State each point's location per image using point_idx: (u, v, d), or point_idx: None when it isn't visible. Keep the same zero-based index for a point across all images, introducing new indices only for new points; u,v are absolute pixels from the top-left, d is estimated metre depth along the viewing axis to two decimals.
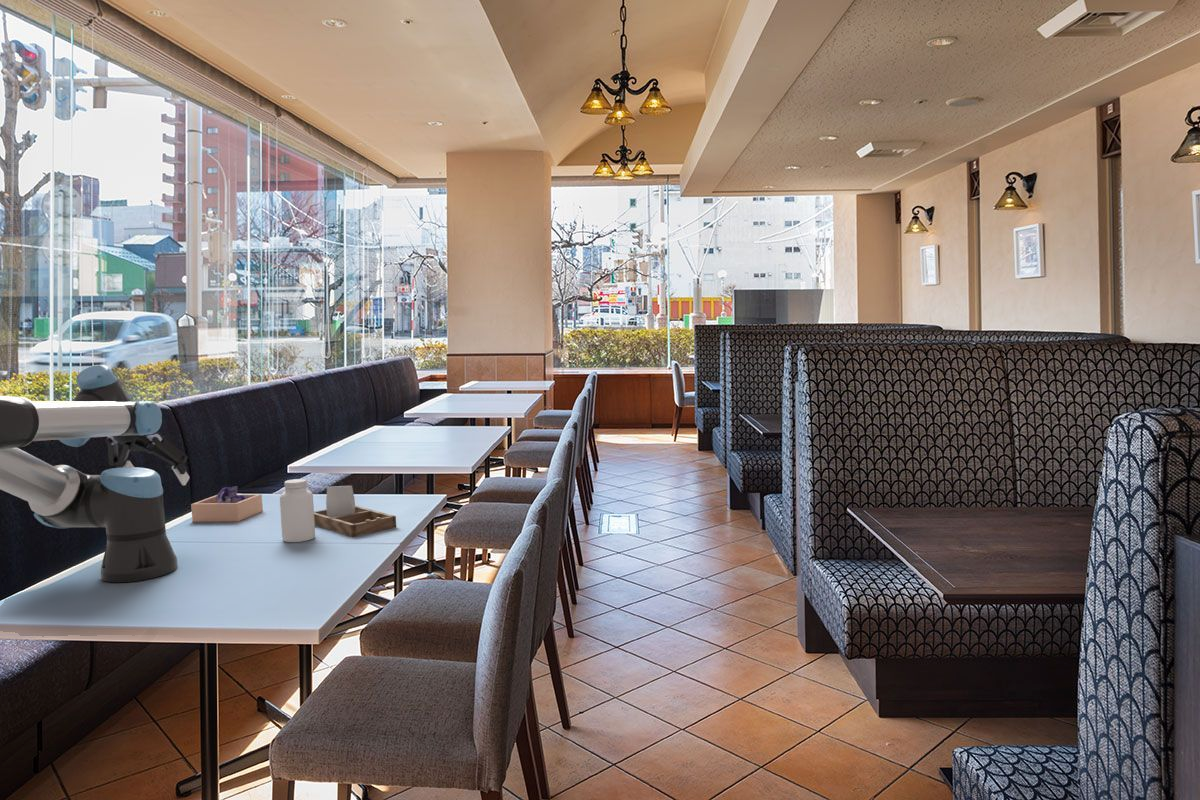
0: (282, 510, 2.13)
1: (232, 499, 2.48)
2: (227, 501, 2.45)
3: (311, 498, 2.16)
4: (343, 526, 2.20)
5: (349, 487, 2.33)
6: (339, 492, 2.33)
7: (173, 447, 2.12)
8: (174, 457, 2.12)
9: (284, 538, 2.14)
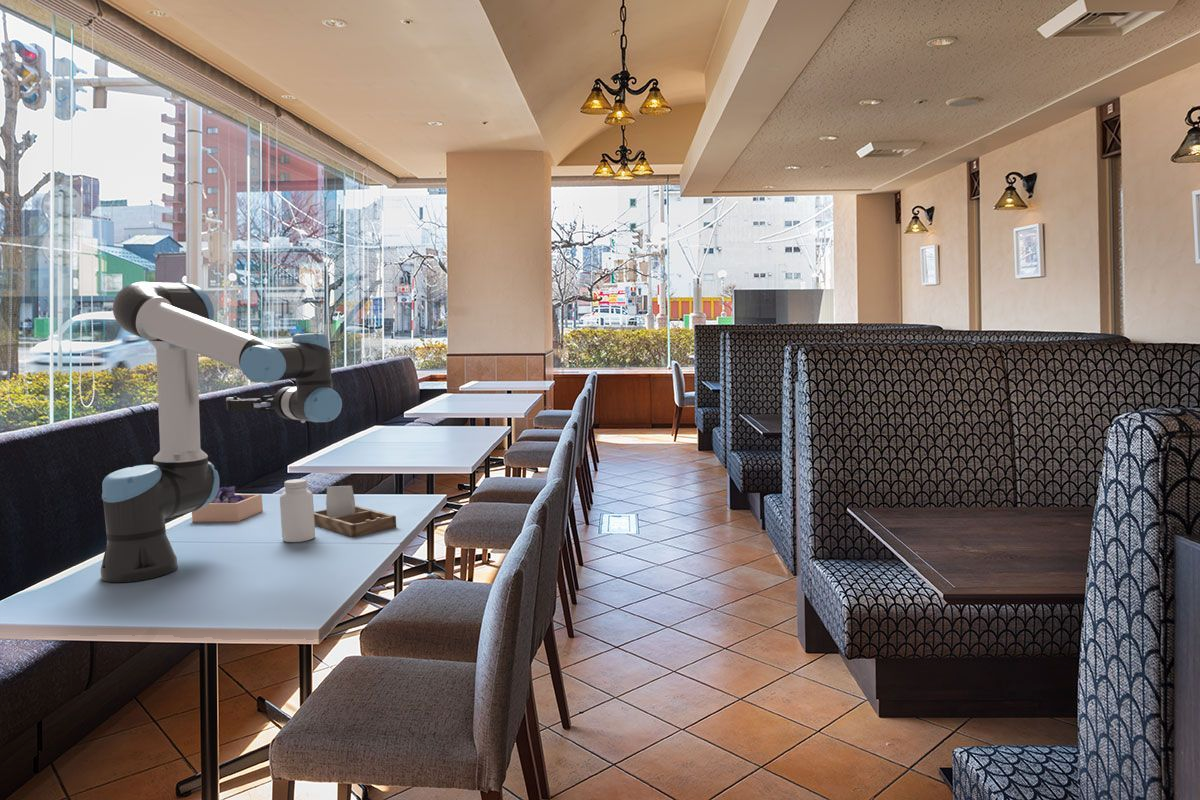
0: (282, 510, 2.13)
1: (230, 499, 2.48)
2: (225, 501, 2.45)
3: (311, 498, 2.16)
4: (343, 526, 2.20)
5: (349, 487, 2.33)
6: (339, 492, 2.33)
7: (241, 408, 1.96)
8: (236, 400, 1.97)
9: (284, 538, 2.14)
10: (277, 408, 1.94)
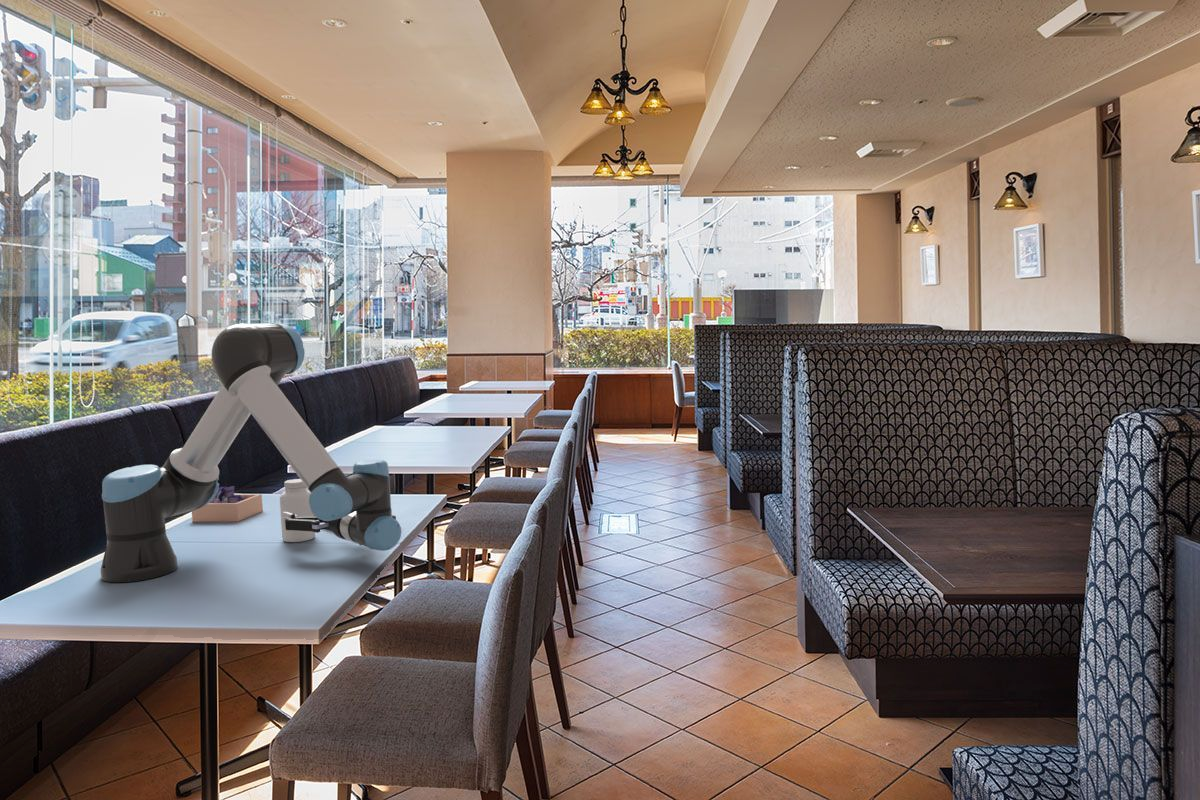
0: (282, 510, 2.13)
1: (229, 499, 2.49)
2: (224, 501, 2.45)
3: None
4: None
5: None
6: None
7: (300, 528, 1.97)
8: (294, 519, 1.98)
9: (284, 538, 2.14)
10: (335, 530, 1.95)
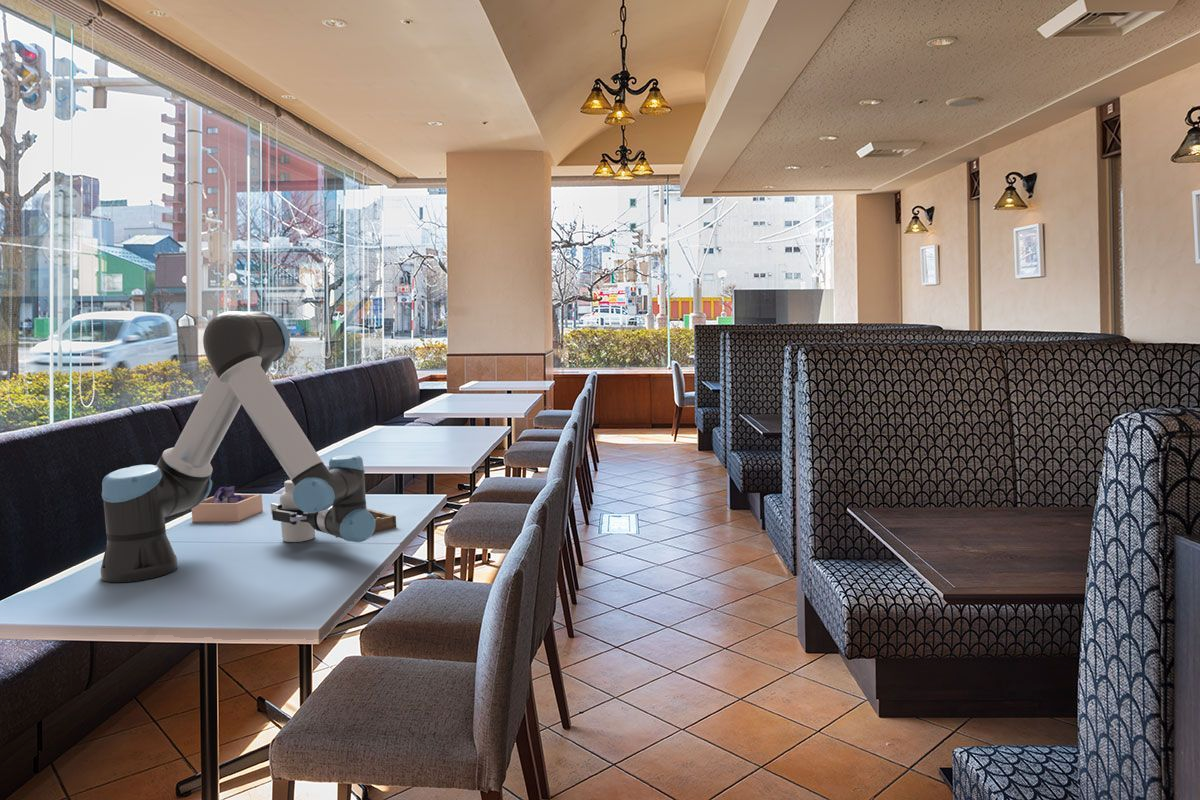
0: None
1: (229, 499, 2.49)
2: (224, 501, 2.45)
3: None
4: None
5: None
6: None
7: (282, 519, 2.07)
8: (278, 510, 2.08)
9: (284, 538, 2.14)
10: (313, 523, 2.02)
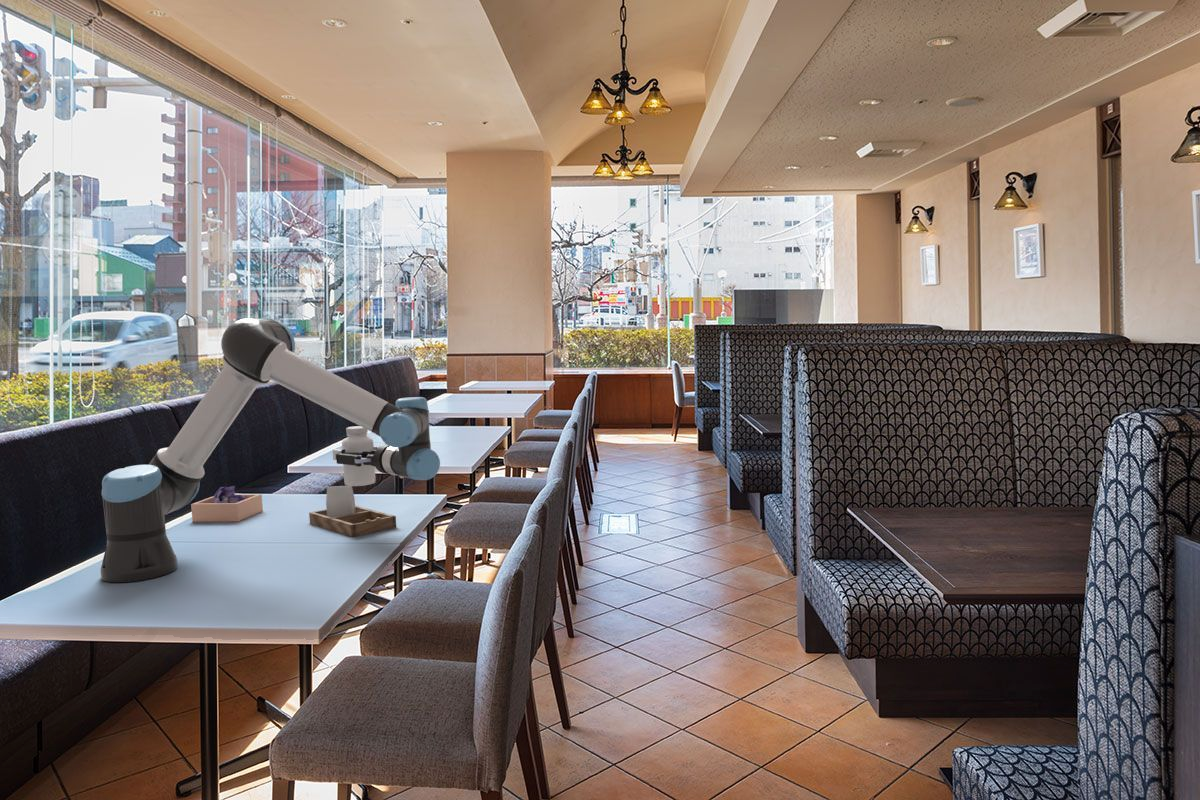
0: None
1: (229, 499, 2.49)
2: (224, 501, 2.45)
3: (372, 444, 2.23)
4: (343, 526, 2.20)
5: (349, 487, 2.33)
6: (339, 492, 2.33)
7: (346, 462, 2.14)
8: (343, 454, 2.15)
9: (346, 482, 2.21)
10: (377, 464, 2.10)
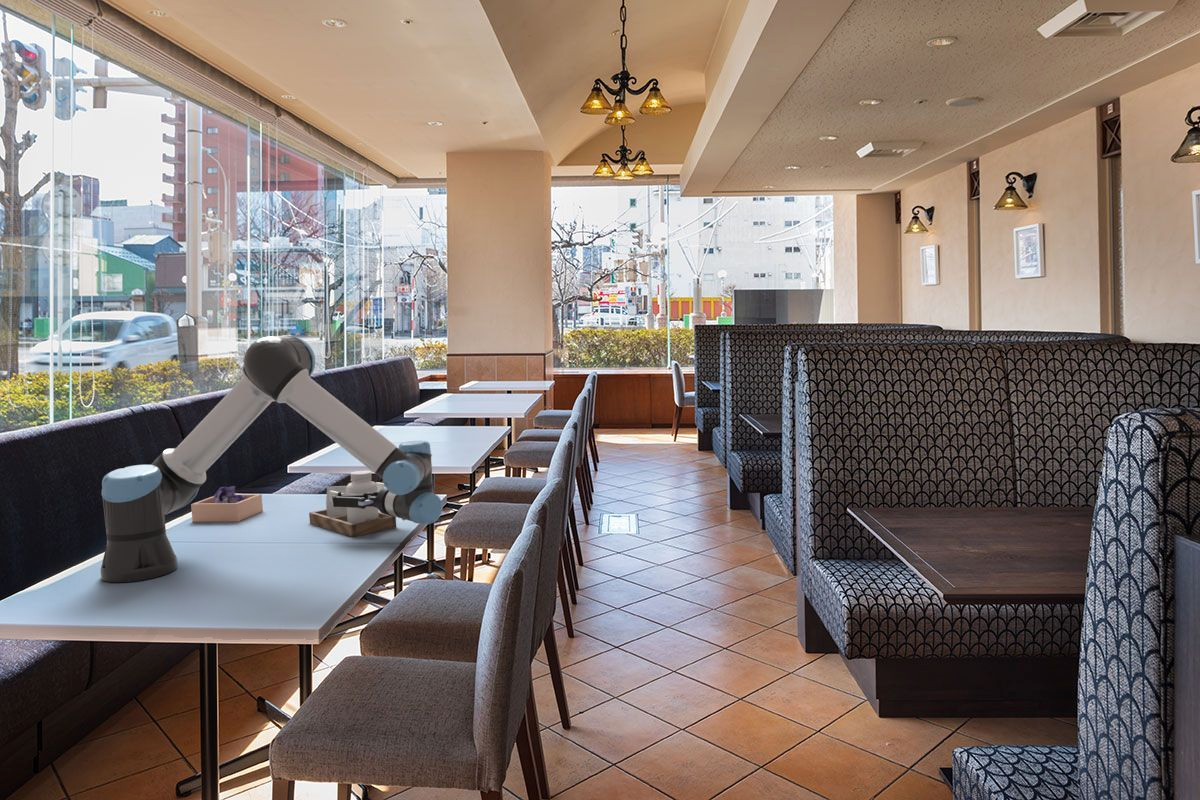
0: None
1: (230, 499, 2.49)
2: (224, 501, 2.45)
3: (376, 489, 2.25)
4: (343, 526, 2.20)
5: None
6: None
7: (346, 505, 2.13)
8: (341, 497, 2.14)
9: None
10: (380, 506, 2.11)
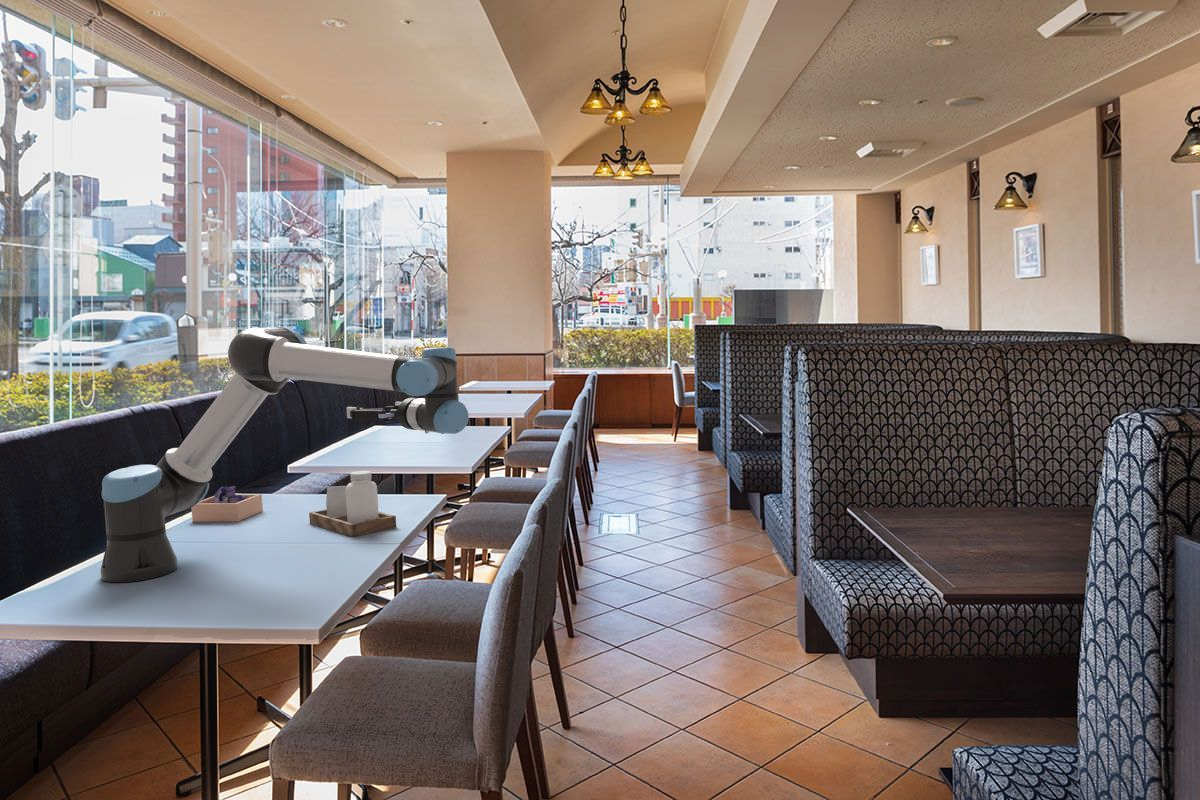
0: (348, 500, 2.22)
1: (230, 499, 2.49)
2: (224, 501, 2.46)
3: (376, 489, 2.25)
4: (343, 526, 2.20)
5: None
6: (339, 492, 2.33)
7: (366, 418, 2.02)
8: (360, 410, 2.03)
9: None
10: (402, 419, 1.99)
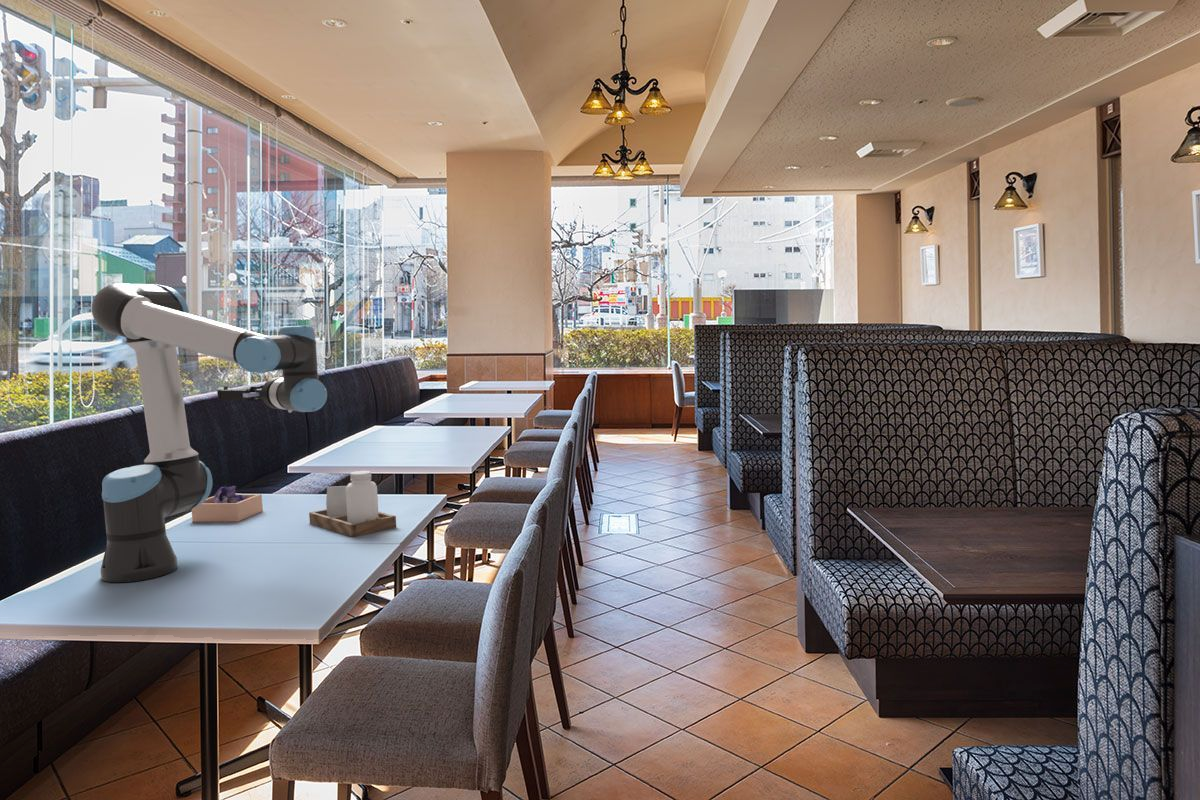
0: (348, 500, 2.22)
1: (230, 498, 2.49)
2: (224, 500, 2.46)
3: (376, 489, 2.25)
4: (343, 526, 2.20)
5: None
6: (339, 492, 2.33)
7: (231, 398, 2.02)
8: (226, 390, 2.03)
9: None
10: (265, 398, 2.00)
